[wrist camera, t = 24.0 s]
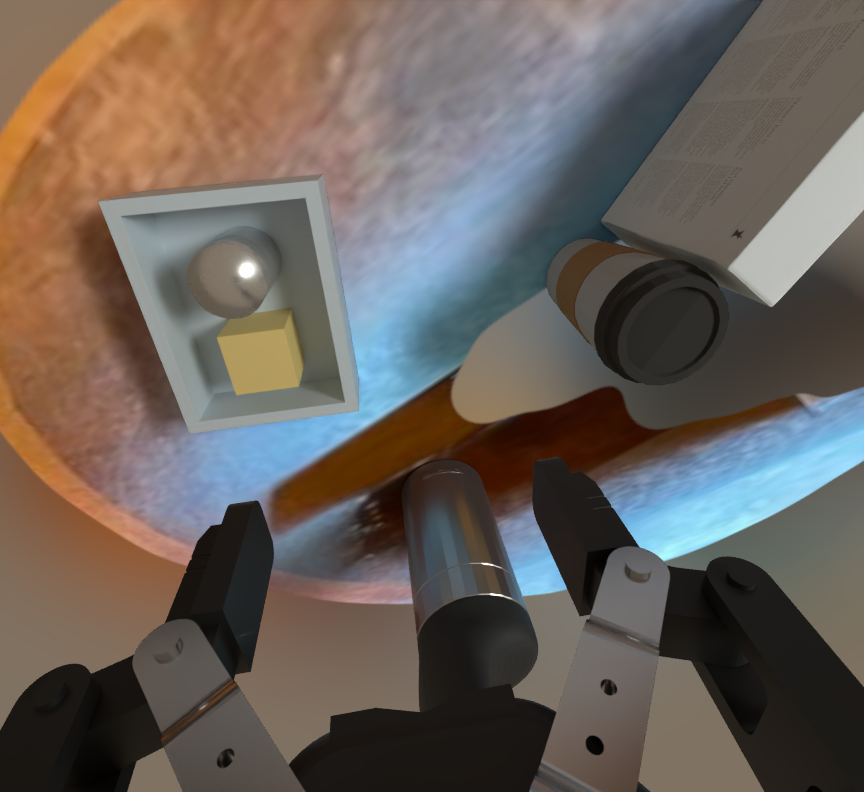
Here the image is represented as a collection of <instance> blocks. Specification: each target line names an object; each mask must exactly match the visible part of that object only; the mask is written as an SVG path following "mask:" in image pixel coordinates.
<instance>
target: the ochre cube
mask: <svg viewBox="0 0 864 792" xmlns="http://www.w3.org/2000/svg"><path fill="white" fill-rule="evenodd" d="M217 340H218V343H219V346H220V349H221V352H222V354H223V357H224V360H225V363H226V366H227V369H228V372H229V375H230V378H231V381H232V384H233V387H234V390H235V393H236V395H241V394H249V393H256V392H263V391H270V390H277V389H285V388H292V387H299V384H300V380H301V376H302V372H303V368H304V364H305V358H304V354H303V350H302V346H301V342H300V338H299V334H298V329H297V325H296V321H295V317H294V313H293V309H292V308H287V309H279V310H271V311H263V312H255V313H252V314H251V315H249V316H247V317H244V318H239V319H229V321H228V322H227V324H226V325H225V327H224V328H223V329H222V331H221V332H220V334H219V335H218V336H217Z"/></svg>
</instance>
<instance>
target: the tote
mask: <svg viewBox="0 0 864 792" xmlns="http://www.w3.org/2000/svg"><path fill="white" fill-rule="evenodd" d="M98 202H99V205H100V207H101V210H102V212H103V215H104V217H105V220H106V222H107V225H108V227H109V230H110V233H111V235H112V238H113V240H114V243H115V245H116V248H117V250H118V253H119V255H120V258H121V260H122V263H123V265H124V268H125V270H126V273H127V276H128V278H129V281H130V283H131V286H132V288H133V291H134V293H135V296H136V298H137V301H138V303H139V306H140V308H141V311H142V314H143V316H144V319H145V321H146V324H147V326H148V329H149V331H150V334H151V336H152V339H153V341H154V344H155V346H156V349H157V352H158V354H159V357H160V359H161V362H162V364H163V367H164V369H165V372H166V374H167V377H168V379H169V382H170V384H171V387H172V390H173V392H174V395H175V397H176V400H177V402H178V405H179V407H180V410H181V412H182V415H183V417H184V420H185V422H186V425H187V427H188V430H189V433H190V434H191V433H199V432H206V431H213V430H221V429H228V428H236V427H243V426H251V425H258V424H266V423H273V422H281V421H288V420H296V419H303V418H311V417H318V416H326V415H333V414H341V413H348V412H356V411H359V378H358V372H357V367H356V361H355V355H354V349H353V343H352V338H351V332H350V326H349V320H348V315H347V309H346V303H345V297H344V291H343V286H342V280H341V274H340V268H339V263H338V257H337V251H336V245H335V239H334V234H333V228H332V222H331V216H330V211H329V205H328V199H327V193H326V187H325V182H324V176H323V174H320V175H310V176H299V177H289V178H278V179H268V180H257V181H247V182H236V183H226V184H215V185H205V186H194V187H184V188H173V189H163V190H152V191H142V192H133V193H129V194H125V195H121V196H117V197H113V198H109V199H106V200H102V201H98ZM237 226H251V227H255V228H258V229H260V230H262V231H263V232H265V233H266V234H268V235H269V236H270V237H271V238H272V239H273V240H274V241H275V243H276V244H277V246H278V248H279V250H280V253H281V258H282V267H281V271H280V274H279V276H278V277H277V279H276V281H275V282H274V284H273V286H272V287H271V289H270V291H269V292H268V294H267V296H266V297H265V299H264V301H263V302H262V304H261V306H260V307H259V308H258V309H257V310H256V311H255V312H263V311H271V310H279V309H287V308H292V309H293V313H294V317H295V321H296V325H297V329H298V334H299V338H300V342H301V346H302V350H303V354H304V358H305V364H304V368H303V372H302V376H301V380H300V384H299V387H292V388H285V389H277V390H270V391H263V392H256V393H249V394H241V395H236V393H235V390H234V387H233V384H232V381H231V378H230V375H229V372H228V369H227V366H226V363H225V360H224V357H223V354H222V352H221V349H220V346H219V343H218V340H217V336H218V335H219V334H220V332H221V331H222V329H223V328H224V327H225V325H226V324H227V322H228V321H229V319H226V318H221V317H218V316H216V315H213V314H211V313H209V312H208V311H206V310H205V309H204V308H203V307H201V306H200V305H199V304H198V303H197V301H196V300H195V299H194V297H193V296H192V294H191V292H190V290H189V287H188V283H187V269H188V266H189V264H190V262H191V260H192V258H193V257H194V256H195V255H196V254H197V253H198V252H200V251H201V250H202V249H204V248H205V247H206V246H208V245H209V244H210V243H212V242H213V241H214V240H216V239H217V238H218V237H220V236H221V235H222V234H224V233H225V232H226V231H228V230H229V229H231V228H234V227H237ZM255 312H254V313H255Z"/></svg>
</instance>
